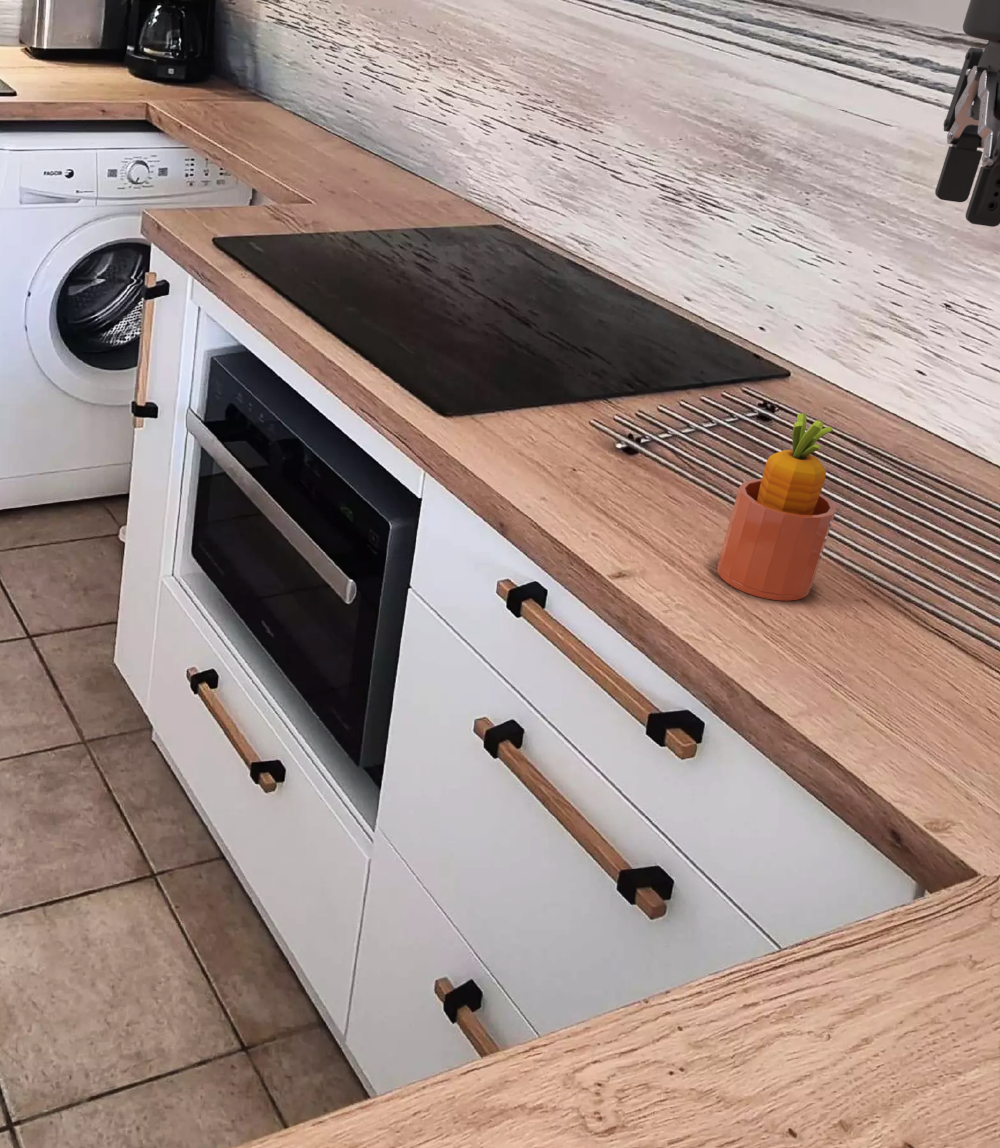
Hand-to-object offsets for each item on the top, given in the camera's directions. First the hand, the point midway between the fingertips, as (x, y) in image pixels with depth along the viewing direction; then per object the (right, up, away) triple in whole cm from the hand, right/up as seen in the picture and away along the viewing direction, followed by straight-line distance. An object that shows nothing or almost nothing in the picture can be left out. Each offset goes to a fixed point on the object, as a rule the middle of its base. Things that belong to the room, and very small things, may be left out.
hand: (964, 211), depth 107 cm
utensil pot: (-5, -26, +27) cm, 38 cm away
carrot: (-5, -26, +27) cm, 37 cm away
